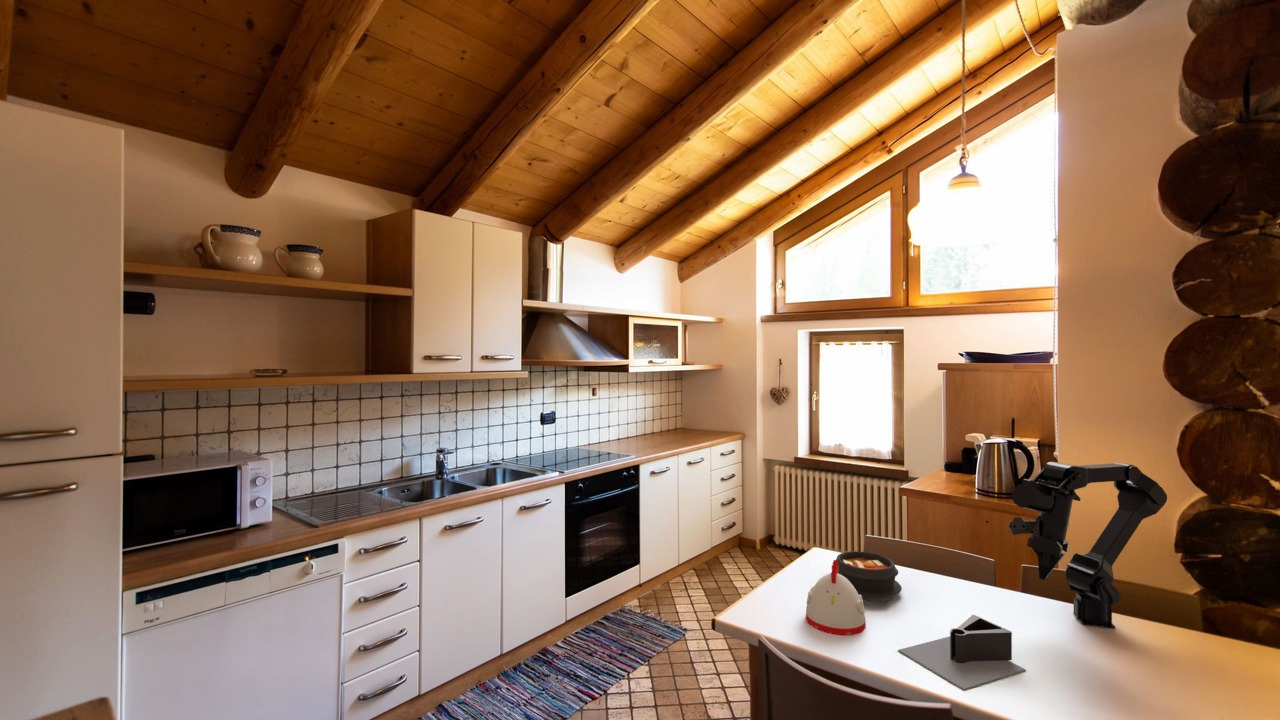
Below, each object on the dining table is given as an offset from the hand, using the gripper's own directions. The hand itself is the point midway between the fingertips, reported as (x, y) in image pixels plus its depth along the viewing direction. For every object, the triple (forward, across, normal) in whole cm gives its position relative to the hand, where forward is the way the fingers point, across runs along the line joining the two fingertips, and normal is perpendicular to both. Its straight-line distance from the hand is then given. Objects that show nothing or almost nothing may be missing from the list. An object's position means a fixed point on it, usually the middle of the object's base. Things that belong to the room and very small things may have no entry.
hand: (1042, 579), depth 135 cm
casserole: (+18, +3, -38) cm, 42 cm away
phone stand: (+13, +18, -5) cm, 23 cm away
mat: (+19, +27, -8) cm, 34 cm away
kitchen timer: (+23, +27, -36) cm, 50 cm away
